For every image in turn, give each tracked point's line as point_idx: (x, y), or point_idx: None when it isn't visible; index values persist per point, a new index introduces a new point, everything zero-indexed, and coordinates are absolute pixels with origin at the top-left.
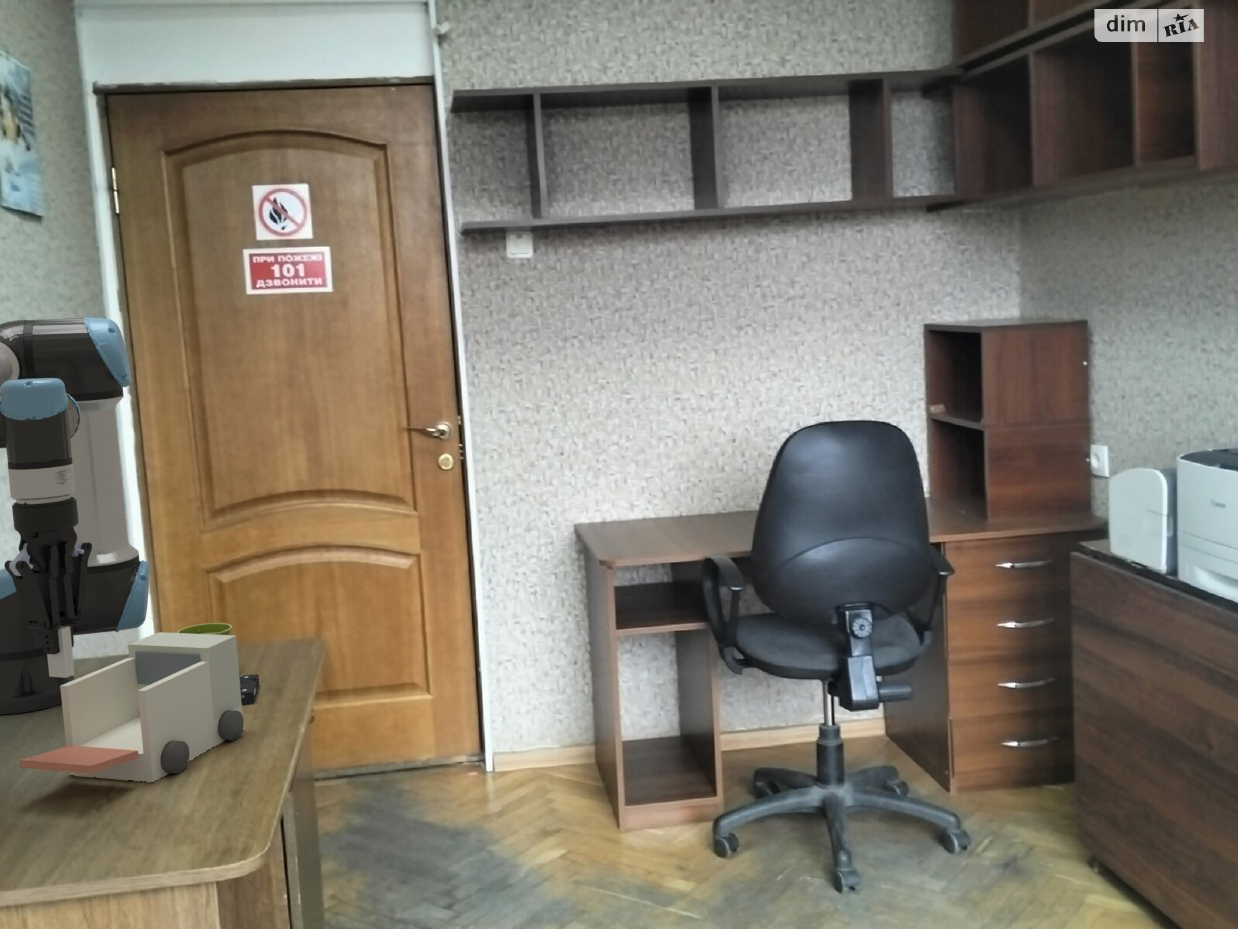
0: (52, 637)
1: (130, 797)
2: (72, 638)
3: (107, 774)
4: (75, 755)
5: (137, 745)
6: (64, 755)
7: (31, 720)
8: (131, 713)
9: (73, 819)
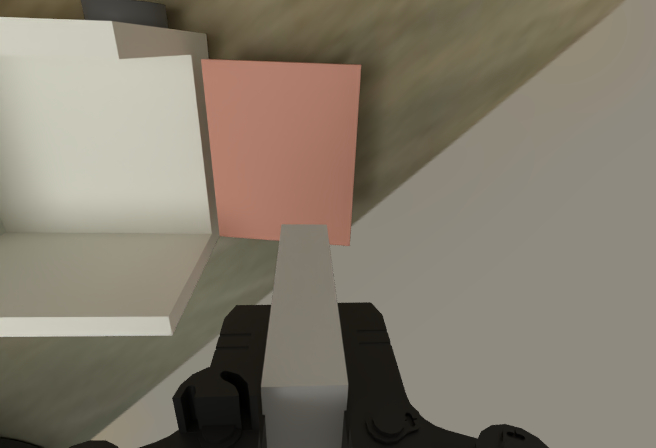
0: (393, 372)
1: (280, 32)
2: (226, 339)
3: None
4: (286, 168)
5: (152, 110)
6: (293, 190)
7: (65, 427)
8: (26, 239)
9: (387, 76)
